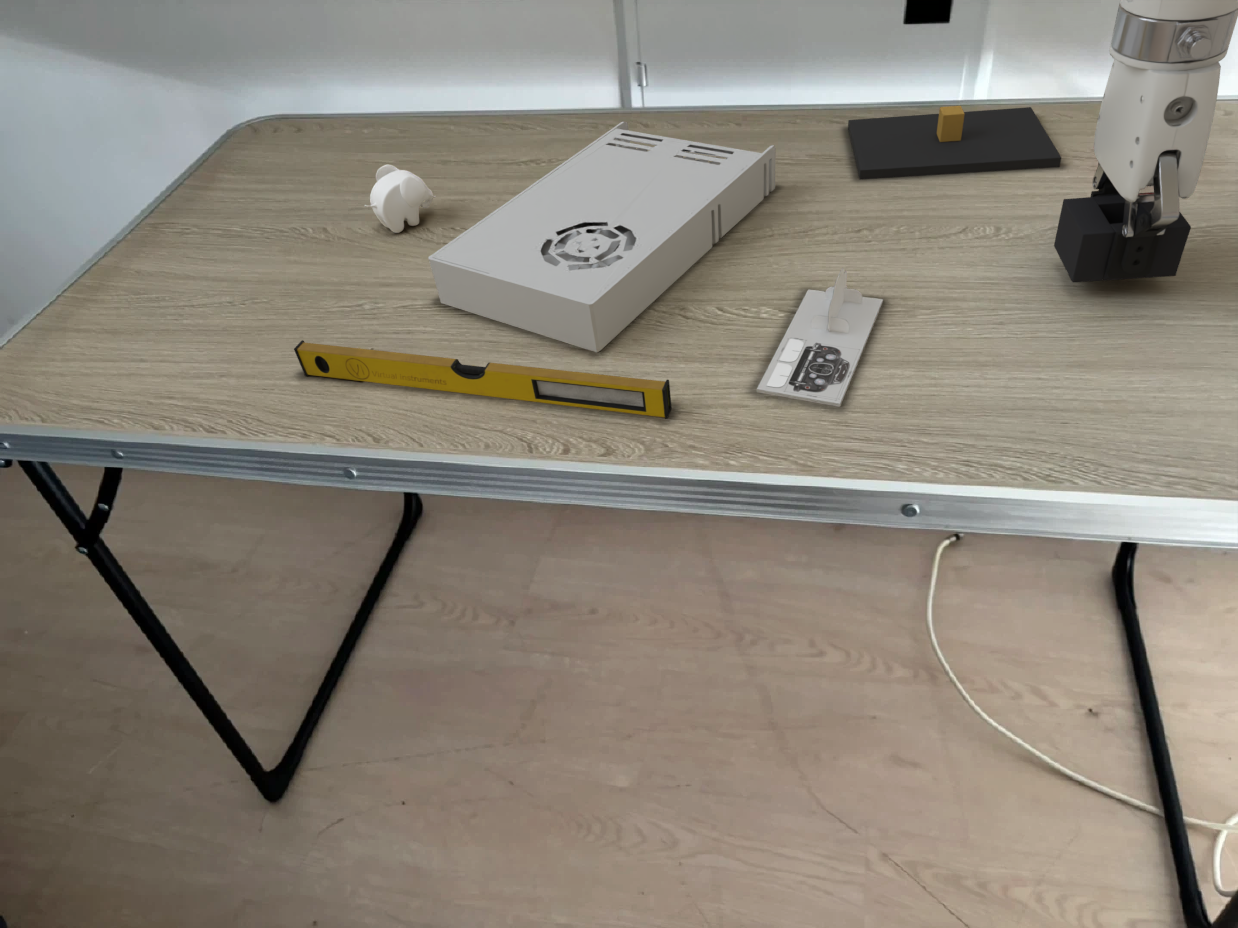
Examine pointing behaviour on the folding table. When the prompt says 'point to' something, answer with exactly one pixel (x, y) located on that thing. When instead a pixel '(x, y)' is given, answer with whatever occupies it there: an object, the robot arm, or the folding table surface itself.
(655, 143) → the power supply unit
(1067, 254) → the black socket block
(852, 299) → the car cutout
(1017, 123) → the base pad
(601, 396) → the spirit level
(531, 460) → the folding table surface
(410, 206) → the elephant figurine
